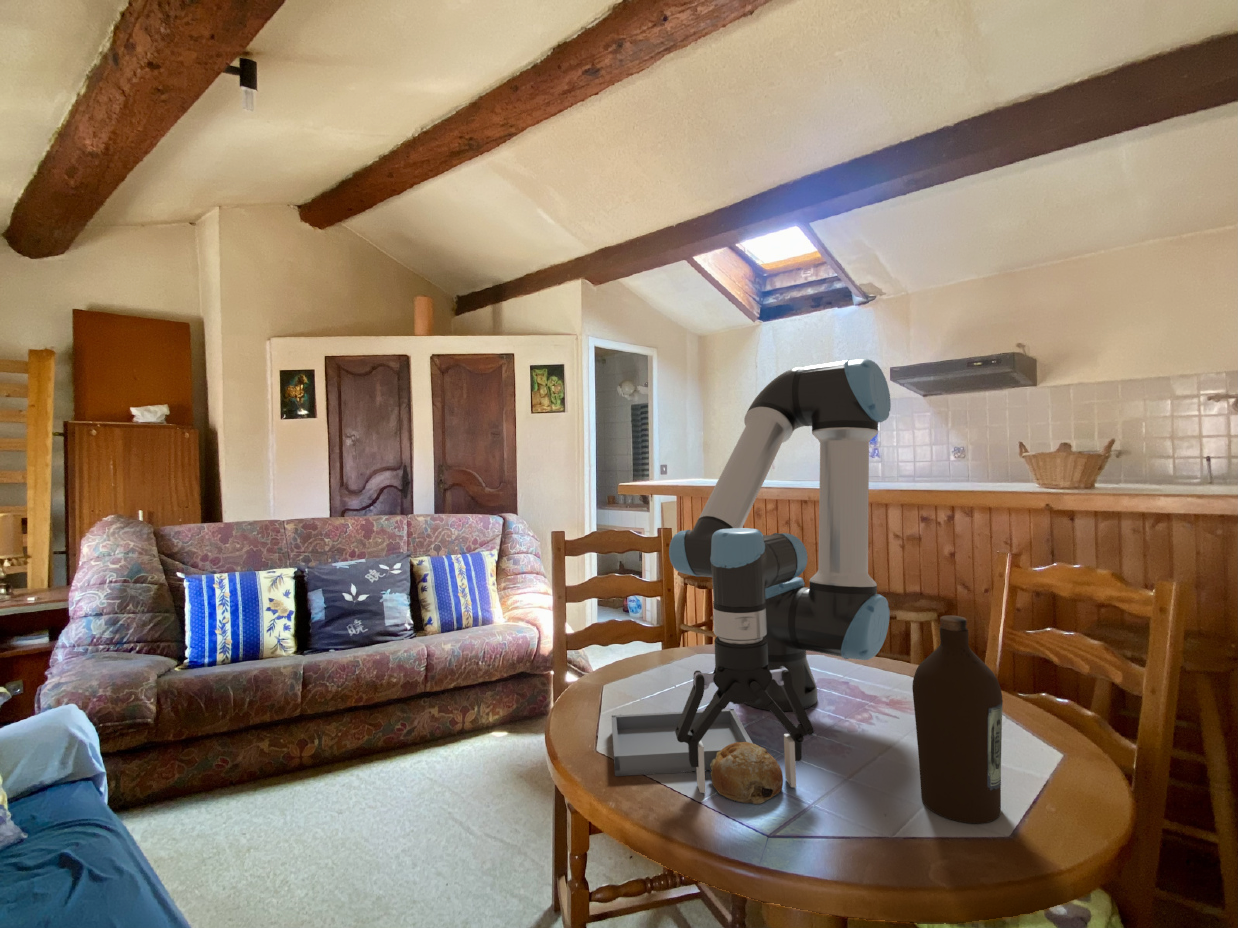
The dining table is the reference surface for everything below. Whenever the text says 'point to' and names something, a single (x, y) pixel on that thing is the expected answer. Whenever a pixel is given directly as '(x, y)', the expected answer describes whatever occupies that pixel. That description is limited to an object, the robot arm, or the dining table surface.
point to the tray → (667, 742)
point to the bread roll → (746, 773)
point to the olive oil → (958, 729)
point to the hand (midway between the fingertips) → (746, 785)
